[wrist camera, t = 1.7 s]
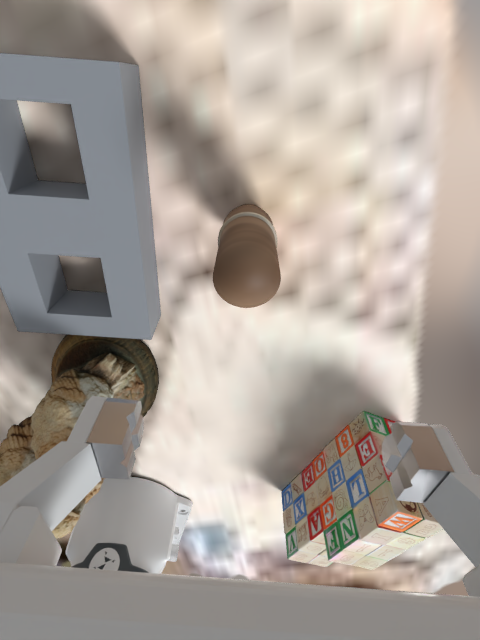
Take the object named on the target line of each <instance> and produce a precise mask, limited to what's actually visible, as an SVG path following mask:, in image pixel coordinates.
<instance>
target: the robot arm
mask: <svg viewBox="0 0 480 640" xmlns="http://www.w3.org/2000/svg"><path fill="white" fill-rule="evenodd" d="M141 410H142V405H141V401H136V400H127V399H117V398H108V397H97V396H92V397H91V398H90V399H89V400H88V401H87V403H86V405H85V407H84V409H83V411H82V413H81V414H80V416H79V418H78V420H77V422H76V424H75V426H74V428H73V430H72V432H71V434H70V436H69V438H68V440H67V442H66V441H61V442H60V443H59V444H57V445H56V446H55V447H53V448H52V449H50V450H49V451H48V452H46V453H45V454H44V455H42V456H41V457H40V458H38V459H37V460H36V461H34V462H33V463H31V464H30V465H29V466H27V467H26V468H25V469H23V470H22V471H21V472H19V473H18V474H16V475H15V476H14V477H12V478H11V479H10V480H8V481H7V482H6V483H4V484H3V485H2V486H0V640H480V476H479V475H477V474H473V473H472V472H471V470H470V468H469V467H468V464H467V463H466V461H465V459H464V457H463V455H462V453H461V452H460V450H459V448H458V446H457V444H456V443H455V441H454V439H453V437H452V435H451V434H450V432H449V430H448V428H446V427H445V426H444V425H433V424H426V423H411V422H395V423H393V424H392V426H391V428H390V429H391V432H392V433H391V434H389V435H387V436H386V437H385V439H384V441H383V443H382V458H383V461H384V464H385V466H386V467H387V468H388V469H389V470H390V471H391V472H392V474H391V477H390V479H389V480H390V482H391V485H392V488H393V491H394V494H395V497H396V500H399V501H408V502H417V503H424V504H423V505H424V506H425V507H426V508H427V510H428V511H429V512H430V513H431V514H432V516H433V517H434V518H435V519H436V520H437V522H438V523H439V524H440V525H441V526H442V528H443V529H444V530H445V531H446V532H447V533H448V535H449V536H450V537H451V538H452V539H453V541H454V542H455V543H456V544H457V545H458V547H459V548H460V549H461V550H462V551H463V553H464V554H465V555H466V556H467V557H468V559H469V560H470V561H471V562H472V563H473V564H474V566H475V568H474V569H472V570H471V571H470V572H468V573H467V574H466V575H465V576H464V578H463V582H464V585H465V587H466V590H467V592H468V595H469V596H459V595H446V594H432V593H418V592H405V591H391V590H377V589H363V588H350V587H336V586H322V585H308V584H295V583H281V582H267V581H253V580H239V579H226V578H212V577H198V576H184V575H170V574H161V573H162V571H163V569H164V567H165V565H166V561H173V562H175V561H176V560H177V555H178V549H179V545H176V544H178V543H179V541H180V539H181V536H182V533H183V531H184V528H185V525H186V522H187V520H188V517H189V514H190V511H191V508H192V504H193V503H192V501H190V500H188V499H186V498H184V497H181V496H178V495H176V494H175V493H173V492H172V491H171V490H169V489H168V488H166V487H165V486H163V485H161V484H158V483H156V482H153V481H150V480H147V479H142V478H136V477H130V475H131V472H132V469H133V466H134V463H135V460H136V458H135V452H134V451H135V450H136V449H137V448H138V447H139V446H140V443H141V440H142V436H143V430H144V418H143V416H142V415H141V414H140V413H141ZM101 478H107V479H104V480H103V484H102V485H101V488H100V490H99V492H98V493H97V494H95V495H94V496H93V497H92V498H91V499H90V500H89V501H88V503H86V504H85V506H84V509H83V511H82V512H81V514H80V518H79V520H78V522H77V524H76V526H75V527H74V528H73V530H72V533H71V536H70V539H69V542H68V545H67V548H66V555H67V557H68V559H69V561H70V563H71V567H60V566H56V565H57V562H58V559H59V557H60V554H61V552H62V549H61V547H60V545H59V543H58V541H57V540H56V538H55V536H54V535H53V533H52V531H53V530H54V529H55V527H56V526H57V525H58V524H59V523H60V522H61V521H62V520H63V519H64V518H65V517H66V516H67V515H68V514H69V513H70V512H71V511H72V510H73V509H74V508H75V507H76V506H77V505H78V504H79V503H80V502H81V500H82V499H83V498H84V497H85V496H86V495H87V494H88V493H89V492H90V491H91V490H92V489H93V488H94V487H95V486H96V485H97V484H98V483H99V482H100V481H101Z"/></svg>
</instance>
